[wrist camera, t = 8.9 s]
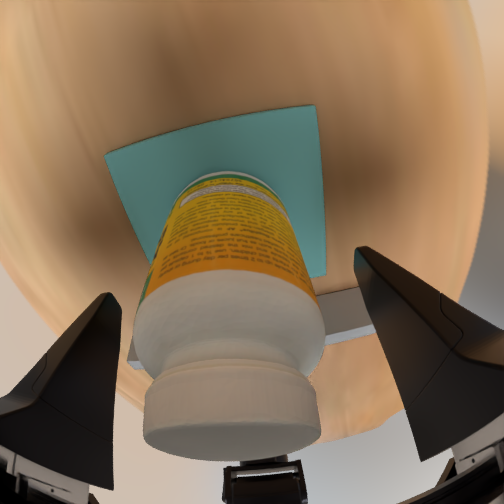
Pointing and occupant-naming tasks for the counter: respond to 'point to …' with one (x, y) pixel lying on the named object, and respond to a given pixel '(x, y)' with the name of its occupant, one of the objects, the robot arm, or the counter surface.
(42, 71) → the counter surface
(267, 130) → the teal mat
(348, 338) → the low wall
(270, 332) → the supplement bottle
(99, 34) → the counter surface
